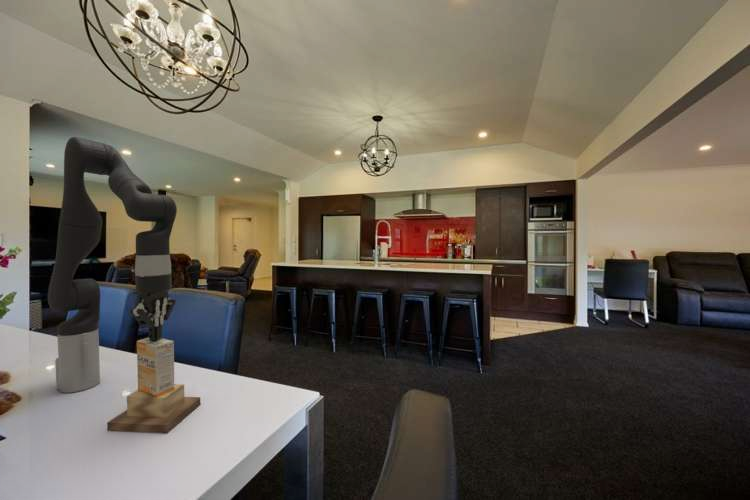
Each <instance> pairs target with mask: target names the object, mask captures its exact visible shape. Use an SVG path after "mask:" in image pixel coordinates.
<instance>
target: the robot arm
mask: <svg viewBox="0 0 750 500" xmlns="http://www.w3.org/2000/svg"><path fill="white" fill-rule="evenodd" d="M63 156H64V157H63V190H62V191H63V192H62V193H63V194H62V202H61V208H60V215H59V221H58V229H57V243H56V252H55V253H56V254H55V259H54V264H53V269H52V273H51V278H50V280H49V285H48V291H47V304H48V305H49V308H50V309H51V312H55V313H65V312H66V313H67V312H72V311H77V312H76V314H74V315H73V316H72V317H70V318H68V319H66V320H65V321H63V322H61V323H59V324H58V325H57V327H56V331H57V332H56V333H57V355H58V357H56V359H55V361H54V362H55V381H56V388H55V389H56V390H57V391H59V392H60V393H65V394H69V393H75V392H76V393H77V392H81V391H85V390H88V389H91V388H93V387H96V386H97V385H98V384H99V383H101V375H100V374H101V370H100V368H101V365H100V339H99V336H100V335H99V322H100V318H101V289H100V285H99V283H98V282H97V280H95V279H94V278H79V279H74V276H75V273H76V272H77V269H78V267H79V266H80V265H81V264H82V262H83V261H84V260H85V259H86V258H87V257H88V256H89V255H90V254H91V252H93V250H95V248H97V245H98V244H99V242H100V240H101V235H102V229H103V218H102V215H101V212H100V211H99V210H98V208H97V206H96V205H95V203H94V202H93V201H92V199H91V197H90V195H89V194H88V192H87V190H86V185H85V179H84V178H85V173H88V174H92V175H93V174H94V175H99V176H108V179H107V185H108V187H109V189H110V190H111V192H112V193H113V194H114V195H115V196H116V197H117V198H119V199H120V200H121V202H122V204H123V207H124V210H125V214H126V215H127V216H128V217H129V218H130V219H132V220H135V222H146V223H147V222H148V223H153V222H154V226H153V227H152V229H150V230H145V231H141V232H140V231H139V232H138V233H137V234H136V235H135V262H134V271H135V272H134V275H135V279H134V280H135V281H134V282H135V292H136V293H137V294H138V295H139V296H138V300H137V303H138V304H137V306H136V307H135V308H131V309H130V311H129V313H130V314H131V316H132V317H133V318H134V319H135V320H136V321H137V323H138V324H139V325H140V326H141V327H147V330H148V331H147V333H148V334H147V336H148V338H149V340H150V341H157V340H159V339H161V338H163V336H162V335H163V324H164V322H165V321H168V319H169V318H170V315H172V312H173V309H174V307H175V304H176V301H177V300H176V299H175V298H174V299H173V298H170V294H169V291H170V290H172V286H173V285H172V261H171V255H170V249H171V248H170V239H171V233H172V230H173V227H174V223H175V220H176V218H177V214H178V213H177V212H178V211H177V210H178V208H177V204H176V202H175V200H174V199H173V198H172V197H170V196H169V195H166V194H158V193H157V194H156V193H153V191H152V189H151V187H150V186H149V185H148V184H147V183H145V182H144V181H143V180H142V179H141V178H140V177H138V176H137V174H135V173H134V172H133V171H132V170H131V168H130V167H129V165H128V164H127V162H126V160H124V158H123V157H122V155H121V154H120V152H119V151H118V150H117V149H116V148H115V147H113V146H111V145H110V144H107V143H104V142H100V141H96V140H92V139H91V140H90V139H87V138H83V137H78V136H72V137H70V138H69V139H68V140H67V142H66V144H65V148H64V153H63Z"/></svg>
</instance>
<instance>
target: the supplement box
mask: <svg viewBox="0 0 750 500" xmlns="http://www.w3.org/2000/svg"><path fill="white" fill-rule="evenodd" d="M174 346H175V345H174V340H171V339H167V338H163V337H162V338H161V339H159V340H157V341H150V340H149V337H146V338H142V339H139V340H137V341H136V357H137V358H136V360H137V362H136V363H137V366H136V367H137V390H140V391H143V392H146V393H149V394H151V395H154V396H156V397H158V396H160V395H163V394H165V393H167V392H169V391H172V390H174V384H175V348H174Z"/></svg>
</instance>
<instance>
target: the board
mask: <svg viewBox="0 0 750 500" xmlns="http://www.w3.org/2000/svg"><path fill="white" fill-rule="evenodd" d="M184 399H185V403H184V404H182V405H181V406H180V407H179V408H177V409H176V410H175V411H174V412H172V413H171V414H170V415H168V416H167V417H166V418H164V417H140V416H127V409H126V410H124V411H123V412H121V413H120V414H118V415H116V416H115V417H113V418H112V419H110V420H109V421H107V423H106V426H107V428H106V429H107V431H108V432H109V431H110V432H127V433H128V432H132V433H151V434H168V433H169V432H170V431H172V429H174V428H176V426H178V425H179V424H180V423H181V422H182V421H183V420H184V419H185V418H187V417H188V416H189V415H190V414H191V413H192V412H194V411H195V410H196V409H197V408H198V407H200V406H201V397H199V396H184Z"/></svg>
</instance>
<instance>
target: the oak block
mask: <svg viewBox="0 0 750 500" xmlns="http://www.w3.org/2000/svg"><path fill="white" fill-rule="evenodd" d="M184 397H185V384H183V383H181V384H180V383H174V390H172V391H169V392H167V393H165V394H163V395H160V396H158V397H156V396H154V395H151V394H149V393H146V392H143V391H140V390H138V389H136V390H135V391H133V392H132V393H130V394H128V395H127V396H126V410H127V416H140V417H164V418H166V417H167V416H168V415H170V414H171V413H172V412H174V411H175V410H176V409H177V408H179V407H180V406H181V405H182V404H184V403H185V399H184Z"/></svg>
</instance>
